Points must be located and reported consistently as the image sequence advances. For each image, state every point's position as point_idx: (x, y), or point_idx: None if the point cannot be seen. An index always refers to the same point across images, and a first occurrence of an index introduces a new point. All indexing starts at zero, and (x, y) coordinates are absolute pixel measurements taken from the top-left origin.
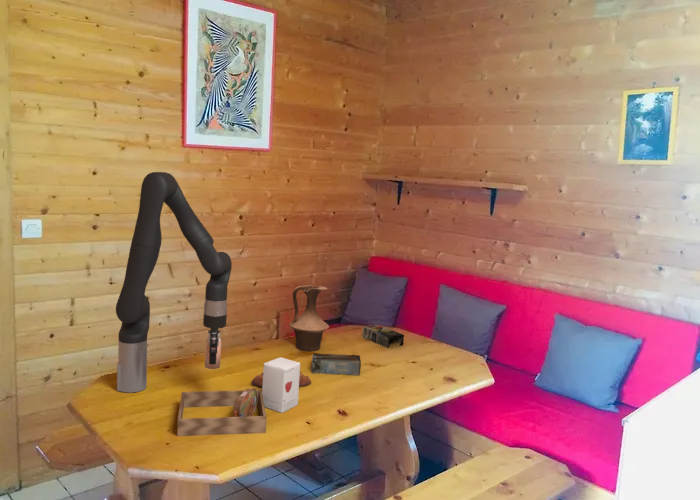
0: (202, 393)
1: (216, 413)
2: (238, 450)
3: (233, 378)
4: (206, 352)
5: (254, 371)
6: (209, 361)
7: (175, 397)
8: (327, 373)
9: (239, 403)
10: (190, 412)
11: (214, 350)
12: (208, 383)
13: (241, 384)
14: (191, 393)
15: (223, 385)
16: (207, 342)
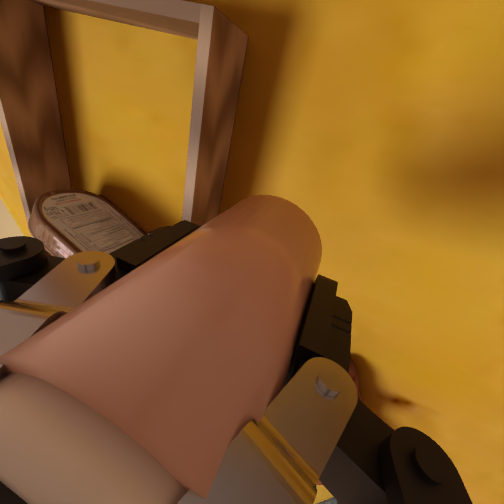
0: (192, 133)
1: (168, 168)
2: (8, 158)
3: (455, 342)
4: (179, 245)
5: (478, 427)
6: (174, 225)
7: (370, 9)
8: (329, 499)
9: (30, 218)
10: (187, 73)
11: (2, 299)
12: (468, 234)
13: (371, 333)
14: (198, 73)
15: (399, 279)
16: (20, 348)
